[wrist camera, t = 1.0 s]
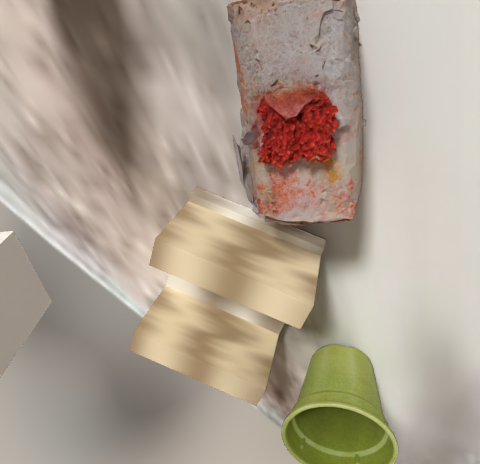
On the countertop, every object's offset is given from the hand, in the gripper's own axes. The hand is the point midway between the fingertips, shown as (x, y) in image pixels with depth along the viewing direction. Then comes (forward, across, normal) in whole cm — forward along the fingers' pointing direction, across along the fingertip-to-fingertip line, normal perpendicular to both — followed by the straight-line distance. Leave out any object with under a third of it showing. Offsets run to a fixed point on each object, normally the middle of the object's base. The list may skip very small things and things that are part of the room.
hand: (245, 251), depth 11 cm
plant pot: (+18, -5, +28) cm, 33 cm away
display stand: (+20, +4, +17) cm, 27 cm away
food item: (+21, -3, +1) cm, 21 cm away
